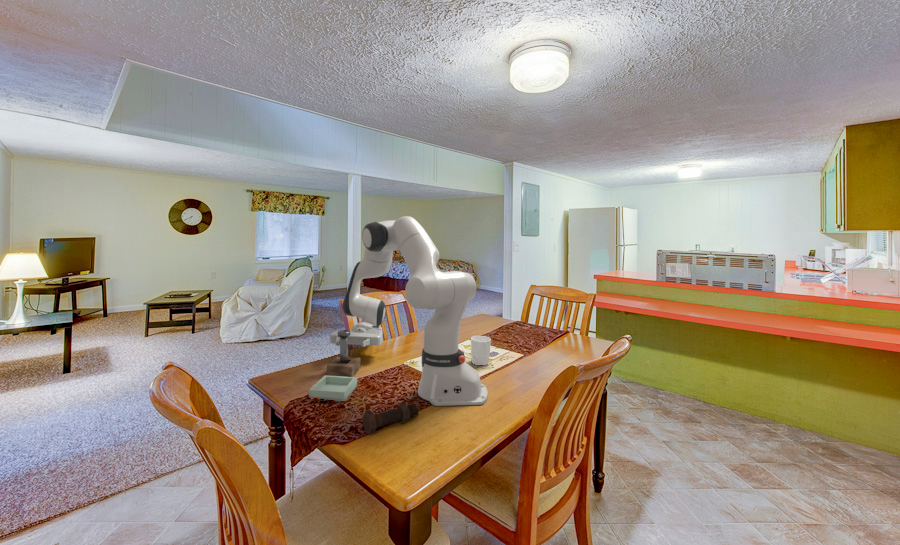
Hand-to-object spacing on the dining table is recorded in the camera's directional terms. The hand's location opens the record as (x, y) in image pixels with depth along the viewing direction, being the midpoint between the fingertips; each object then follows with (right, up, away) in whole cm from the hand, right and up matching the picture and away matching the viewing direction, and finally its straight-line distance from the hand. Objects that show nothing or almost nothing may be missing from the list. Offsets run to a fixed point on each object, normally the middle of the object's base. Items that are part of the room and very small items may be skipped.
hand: (349, 344), depth 132 cm
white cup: (+49, -10, +9) cm, 51 cm away
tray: (+1, -11, -20) cm, 23 cm away
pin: (-1, -9, -4) cm, 10 cm away
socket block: (-1, -9, -4) cm, 10 cm away
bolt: (+22, -14, -37) cm, 45 cm away
